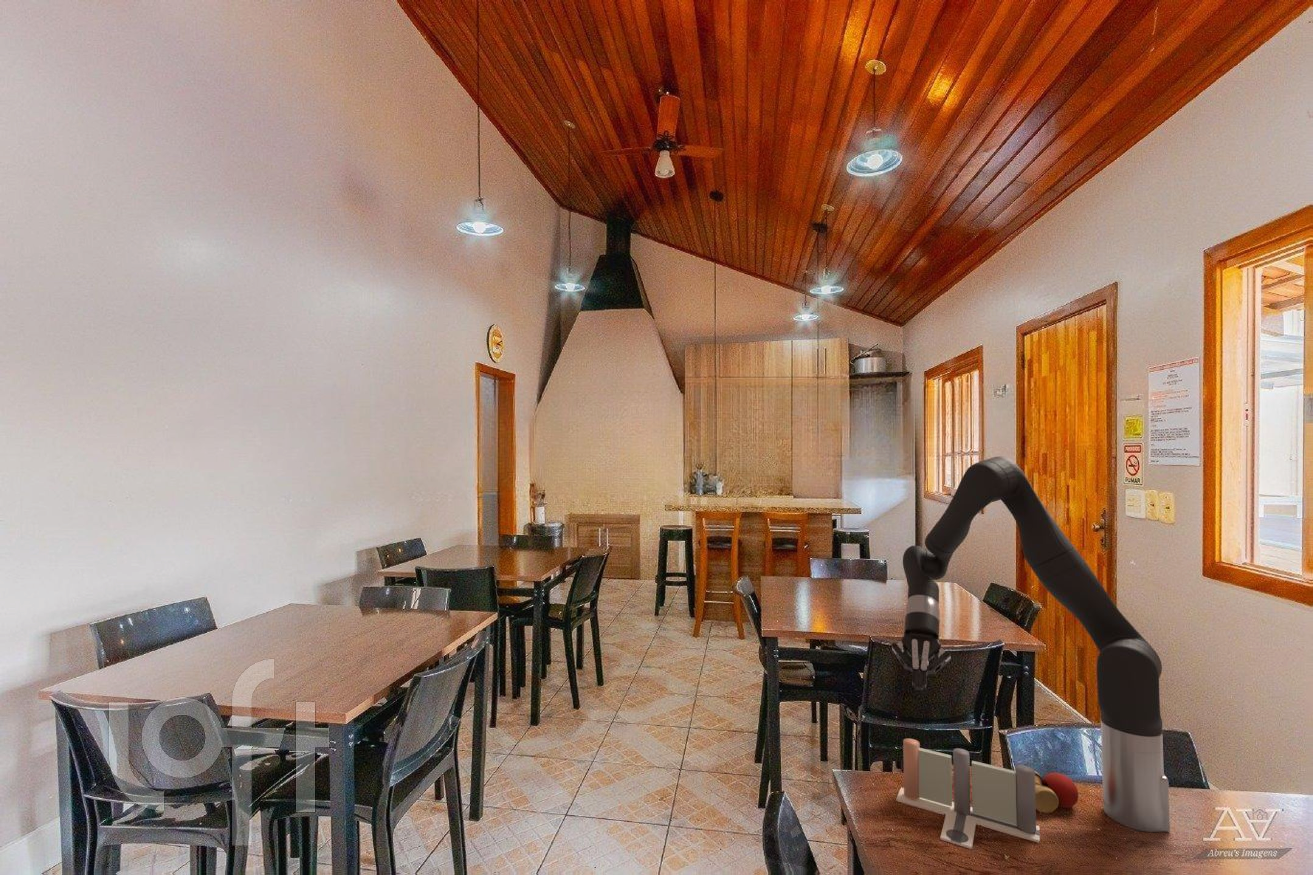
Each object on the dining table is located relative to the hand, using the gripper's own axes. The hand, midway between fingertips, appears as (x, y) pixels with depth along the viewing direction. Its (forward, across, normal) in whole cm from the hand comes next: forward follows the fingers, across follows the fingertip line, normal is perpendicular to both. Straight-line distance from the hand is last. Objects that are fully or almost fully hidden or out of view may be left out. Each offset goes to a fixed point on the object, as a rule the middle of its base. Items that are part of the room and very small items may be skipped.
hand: (918, 688), depth 131 cm
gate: (+21, +2, +2) cm, 22 cm away
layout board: (+25, +9, -1) cm, 27 cm away
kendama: (+15, +20, +10) cm, 27 cm away
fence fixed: (+22, +14, +2) cm, 26 cm away
